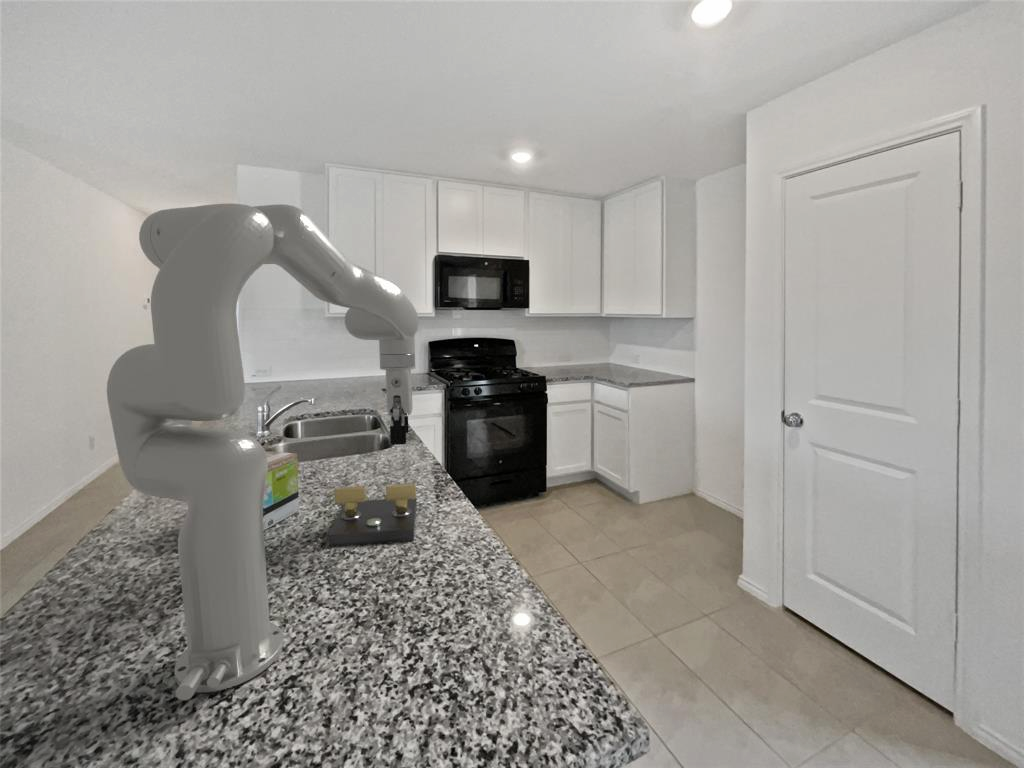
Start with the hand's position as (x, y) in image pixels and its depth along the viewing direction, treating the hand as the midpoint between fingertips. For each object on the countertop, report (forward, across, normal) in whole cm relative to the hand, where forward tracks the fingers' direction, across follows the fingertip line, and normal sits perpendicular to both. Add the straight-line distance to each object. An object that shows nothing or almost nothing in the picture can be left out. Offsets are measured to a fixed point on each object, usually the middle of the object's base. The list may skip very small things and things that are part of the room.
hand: (399, 438), depth 103 cm
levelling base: (+20, 0, +6) cm, 21 cm away
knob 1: (+17, 0, +11) cm, 20 cm away
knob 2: (+17, 0, 0) cm, 17 cm away
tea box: (+20, +6, +32) cm, 38 cm away
